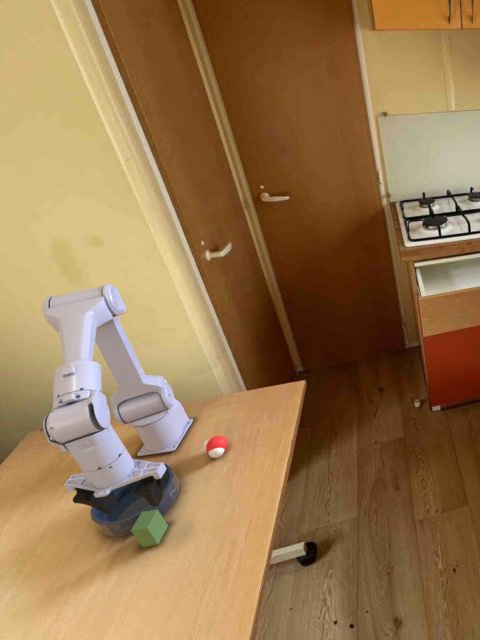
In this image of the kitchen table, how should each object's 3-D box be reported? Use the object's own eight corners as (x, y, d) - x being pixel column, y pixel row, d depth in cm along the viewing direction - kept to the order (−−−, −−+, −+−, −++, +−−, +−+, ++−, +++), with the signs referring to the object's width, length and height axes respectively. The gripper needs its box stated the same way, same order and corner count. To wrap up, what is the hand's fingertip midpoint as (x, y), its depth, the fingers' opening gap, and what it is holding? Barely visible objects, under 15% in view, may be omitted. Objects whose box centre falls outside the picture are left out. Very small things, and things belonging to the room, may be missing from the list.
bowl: (126, 481, 93) (117, 468, 91) (192, 471, 95) (185, 458, 93) (84, 544, 81) (72, 530, 79) (160, 531, 83) (151, 517, 81)
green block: (152, 528, 84) (141, 511, 81) (168, 525, 84) (157, 509, 82) (142, 547, 81) (130, 530, 78) (158, 544, 81) (147, 527, 79)
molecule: (233, 443, 102) (228, 431, 100) (222, 461, 97) (216, 448, 95) (212, 444, 101) (206, 432, 99) (200, 462, 97) (193, 449, 95)
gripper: (35, 485, 68) (75, 534, 74) (136, 470, 70) (167, 519, 76) (68, 448, 74) (102, 496, 80) (159, 435, 76) (186, 483, 83)
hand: (135, 505), depth 79 cm, fingers open, 7 cm apart
